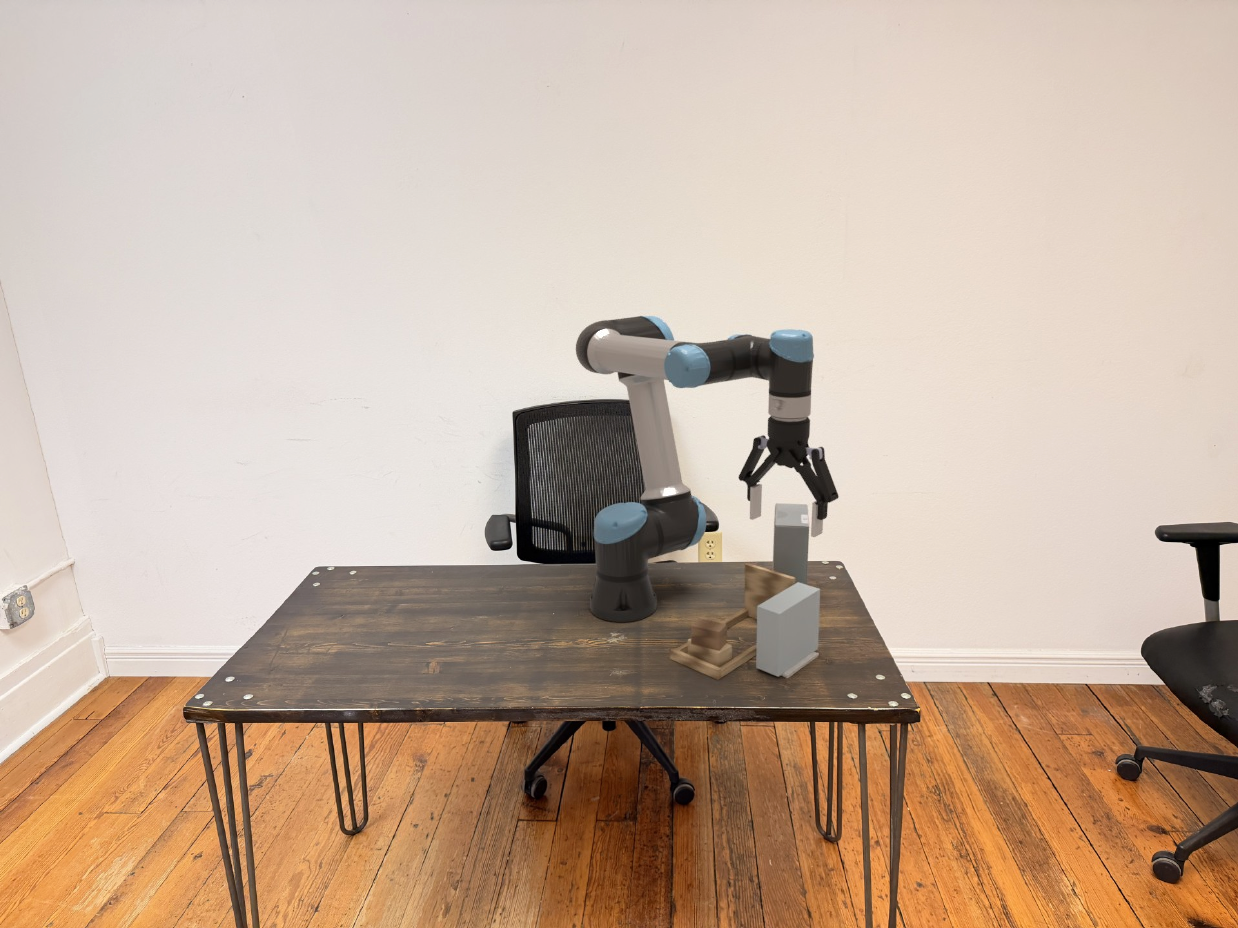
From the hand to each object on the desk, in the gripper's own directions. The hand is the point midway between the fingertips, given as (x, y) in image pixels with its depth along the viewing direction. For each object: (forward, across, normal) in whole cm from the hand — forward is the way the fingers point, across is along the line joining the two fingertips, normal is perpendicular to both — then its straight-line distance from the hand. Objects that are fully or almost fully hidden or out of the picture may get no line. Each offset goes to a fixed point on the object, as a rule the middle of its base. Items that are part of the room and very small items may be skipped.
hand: (785, 526), depth 155 cm
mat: (+28, +2, -1) cm, 28 cm away
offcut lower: (+28, -9, -11) cm, 31 cm away
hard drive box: (+28, -14, +24) cm, 40 cm away
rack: (+28, -10, -2) cm, 29 cm away
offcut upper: (+24, -10, -11) cm, 28 cm away
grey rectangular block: (+27, +2, -1) cm, 27 cm away
